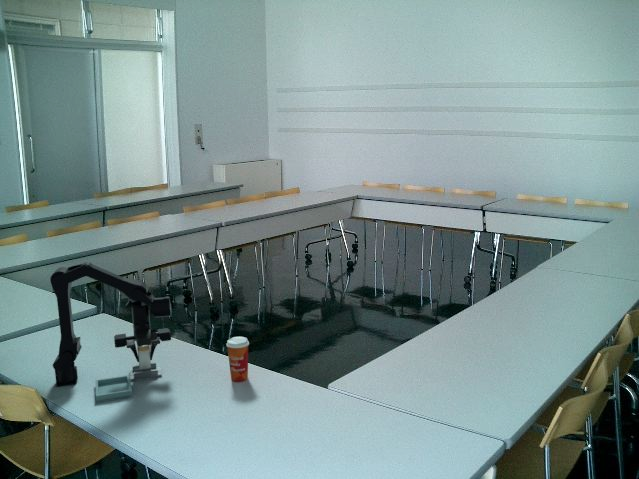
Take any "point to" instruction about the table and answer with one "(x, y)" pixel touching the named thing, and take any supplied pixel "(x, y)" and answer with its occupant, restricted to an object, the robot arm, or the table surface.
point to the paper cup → (238, 358)
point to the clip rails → (145, 372)
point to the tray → (113, 388)
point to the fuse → (144, 356)
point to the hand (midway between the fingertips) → (144, 360)
